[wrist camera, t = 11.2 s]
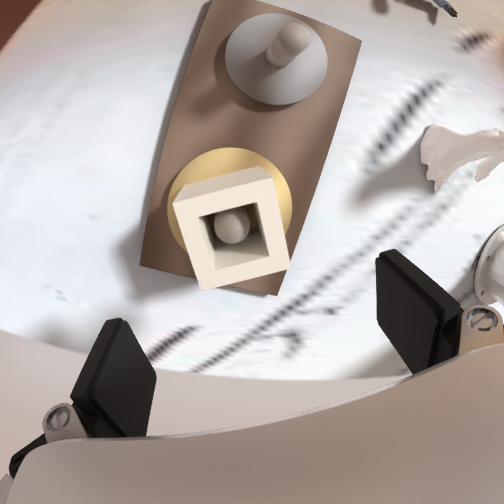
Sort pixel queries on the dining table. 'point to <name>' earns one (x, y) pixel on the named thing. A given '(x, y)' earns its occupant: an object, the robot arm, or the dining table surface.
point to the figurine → (459, 152)
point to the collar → (239, 254)
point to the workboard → (250, 123)
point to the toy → (446, 7)
